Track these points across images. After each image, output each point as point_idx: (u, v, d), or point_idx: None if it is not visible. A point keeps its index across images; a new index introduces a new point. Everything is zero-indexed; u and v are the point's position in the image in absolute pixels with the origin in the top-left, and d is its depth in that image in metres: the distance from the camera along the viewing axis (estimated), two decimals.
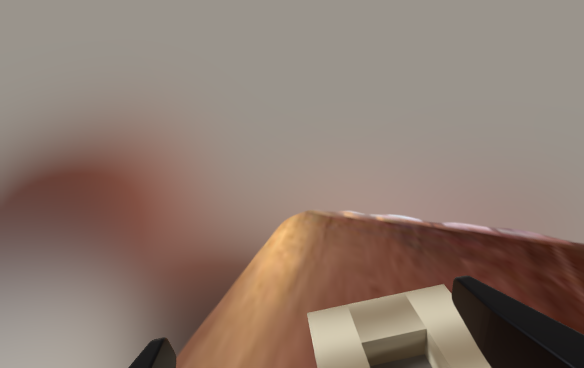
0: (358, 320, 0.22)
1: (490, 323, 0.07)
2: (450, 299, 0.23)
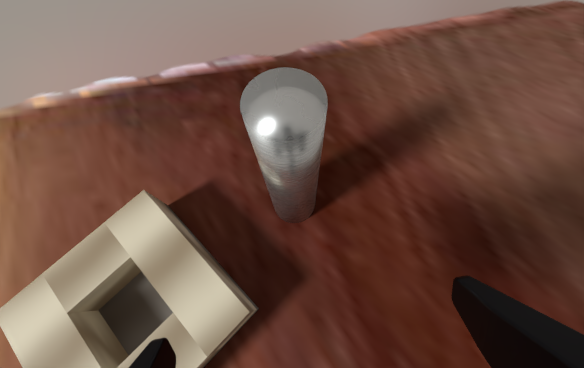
0: (59, 288, 0.19)
1: (490, 323, 0.07)
2: (151, 207, 0.21)
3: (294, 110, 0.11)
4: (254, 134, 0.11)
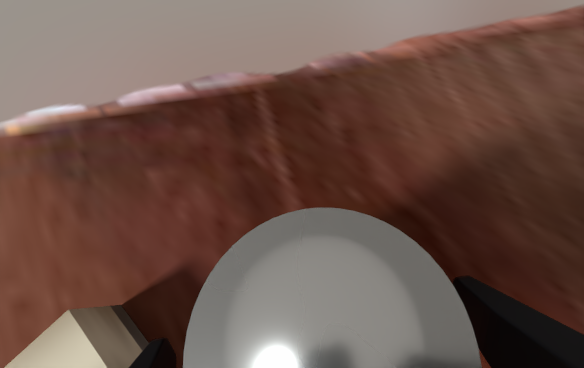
0: None
1: (490, 323, 0.07)
2: (78, 343, 0.13)
3: None
4: None
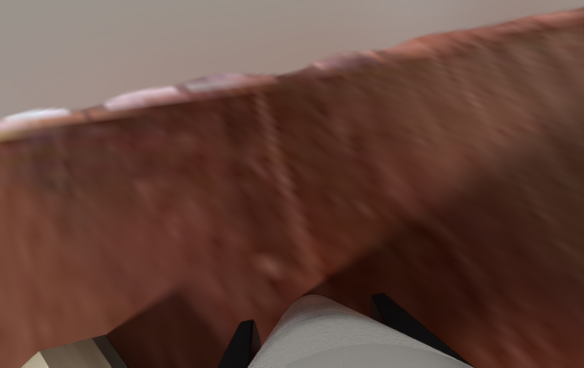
0: None
1: None
2: None
3: None
4: None
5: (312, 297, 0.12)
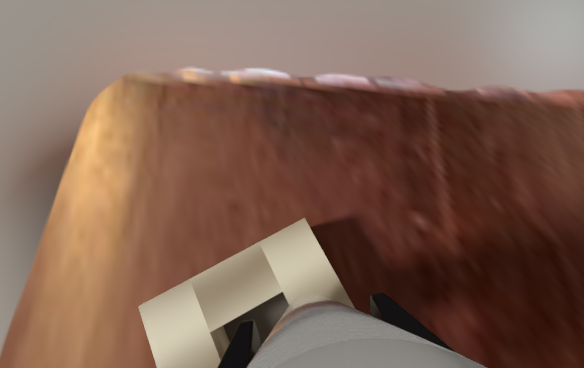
0: (205, 301, 0.18)
1: None
2: (310, 240, 0.19)
3: None
4: None
5: (312, 296, 0.12)
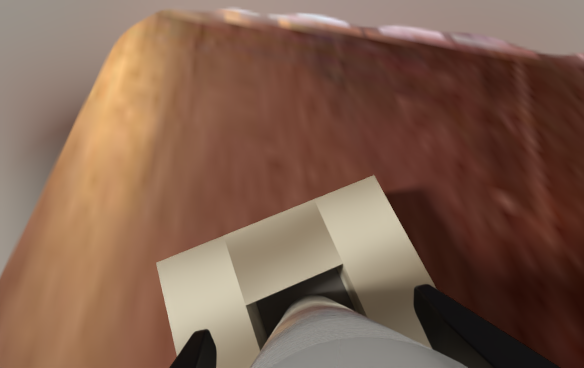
0: (241, 265, 0.14)
1: (443, 333, 0.07)
2: (381, 203, 0.14)
3: None
4: None
5: (312, 297, 0.12)
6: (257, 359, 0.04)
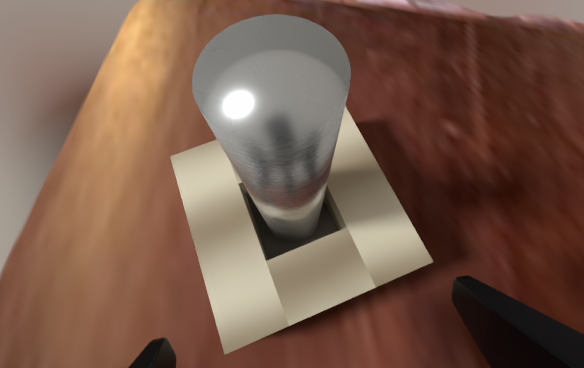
0: None
1: (490, 323, 0.07)
2: (343, 114, 0.19)
3: (291, 87, 0.06)
4: (217, 132, 0.06)
5: None
6: None
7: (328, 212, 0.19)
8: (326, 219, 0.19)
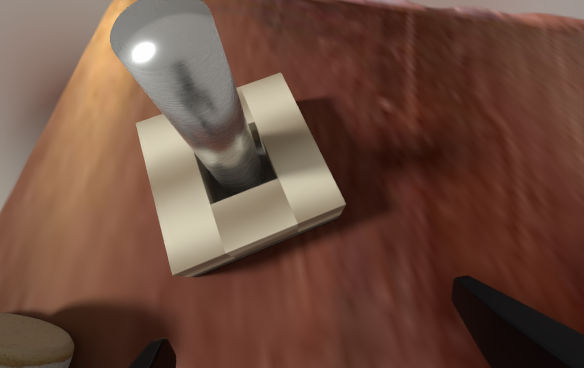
0: None
1: (490, 323, 0.07)
2: (283, 88, 0.22)
3: (173, 36, 0.10)
4: (125, 66, 0.10)
5: None
6: None
7: (272, 172, 0.23)
8: (270, 178, 0.23)
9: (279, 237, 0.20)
